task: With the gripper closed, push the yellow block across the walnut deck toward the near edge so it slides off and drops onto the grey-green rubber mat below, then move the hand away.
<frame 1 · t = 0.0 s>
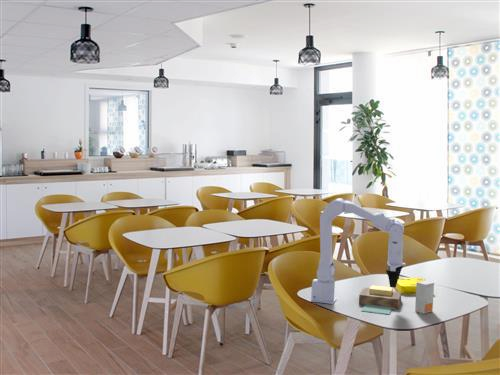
hand: (393, 284, 224), 10 cm above the table, tool pointing down, fingers open, 7 cm apart
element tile: (412, 291, 254), on the table
deck: (380, 302, 234), on the table
mat: (376, 309, 224), on the table
skincare box: (423, 311, 223), on the table
yellow block: (380, 292, 234), point 4 cm above the table, touching deck
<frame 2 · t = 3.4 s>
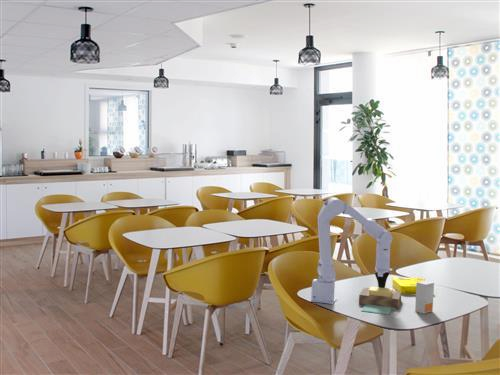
hand: (381, 289, 236), 5 cm above the table, tool pointing down, fingers closed
yellow block: (380, 293, 232), point 4 cm above the table, touching deck
everything else where it was.
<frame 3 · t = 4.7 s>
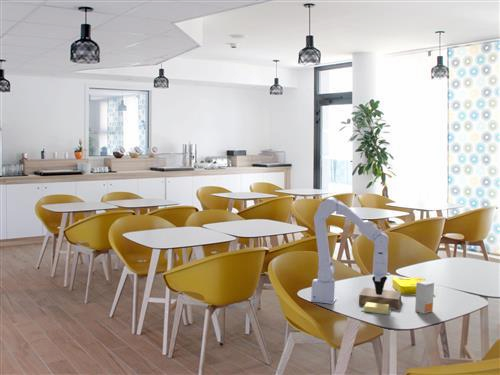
hand: (379, 294, 229), 5 cm above the table, tool pointing down, fingers closed
yellow block: (376, 305, 222), point 2 cm above the table, tilted 180°, touching mat
everything else where it was.
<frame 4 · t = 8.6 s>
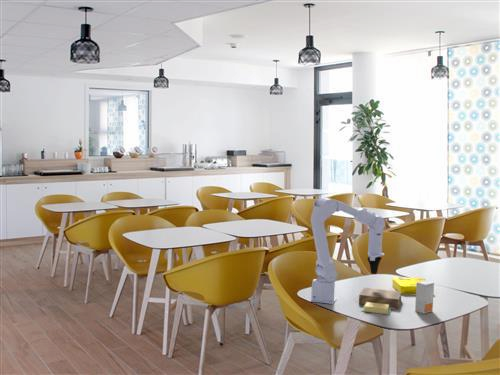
hand: (374, 273, 241), 10 cm above the table, tool pointing down, fingers closed
nothing on the table moved.
at the end: yellow block inside the target area on the mat (1.7 cm from its centre), point 2.3 cm above the mat's base; yellow block point 2.3 cm above the table; yellow block touching mat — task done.
